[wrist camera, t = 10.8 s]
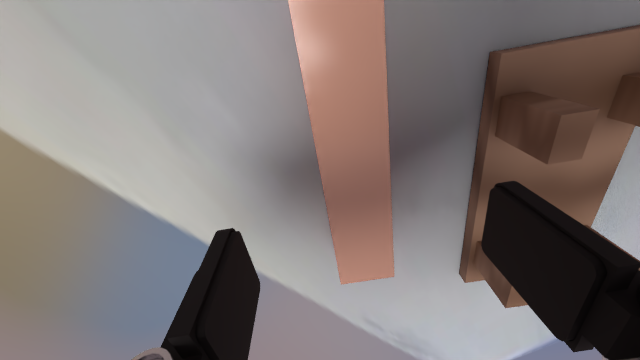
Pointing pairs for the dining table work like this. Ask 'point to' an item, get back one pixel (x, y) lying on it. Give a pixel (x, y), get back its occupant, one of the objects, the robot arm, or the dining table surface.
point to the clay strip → (350, 127)
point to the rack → (552, 132)
